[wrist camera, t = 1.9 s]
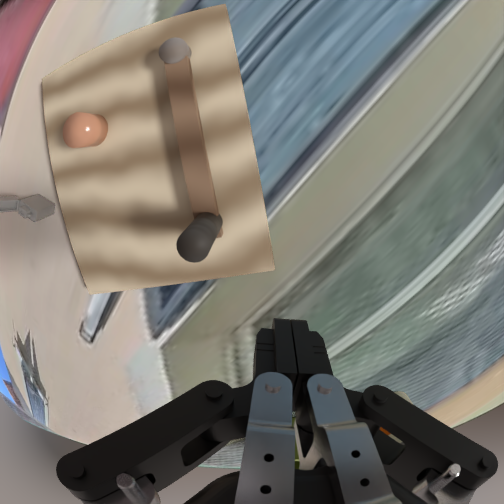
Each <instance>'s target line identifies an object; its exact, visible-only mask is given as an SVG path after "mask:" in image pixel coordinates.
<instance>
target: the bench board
mask: <svg viewBox="0 0 504 504" xmlns="http://www.w3.org/2000/svg"><path fill="white" fill-rule="evenodd" d="M170 38H181V39H183V40H184V41H185V42H186V43H187V45H188V46H189V47H190V49H191V52H192V54H191V58H190V63H191V69H192V74H193V80H194V86H195V91H196V97H197V103H198V108H199V113H200V119H201V124H202V130H203V135H204V140H205V145H206V150H207V156H208V161H209V166H210V171H211V176H212V181H213V186H214V191H215V195H216V200H217V205H218V210H219V214H220V215H221V217H222V220H223V224H222V229H223V235H222V237H221V238H216V239H215V241H214V243H213V245H212V248H211V250H210V252H209V254H208V255H207V257H206V258H205V259H204V260H202V261H200V262H196V263H192V262H188V261H186V260H184V259H183V258H182V257H181V256H180V255H179V253H178V251H177V247H176V243H177V239H178V237H179V236H180V235H181V233H182V232H183V231H184V230H185V229H186V228H187V227H188V226H189V225H190V224H191V222H192V221H193V220H194V216H193V212H192V208H191V203H190V199H189V194H188V189H187V185H186V180H185V175H184V171H183V166H182V161H181V156H180V151H179V146H178V141H177V135H176V130H175V125H174V119H173V114H172V108H171V102H170V96H169V90H168V84H167V78H166V71H165V65H164V61H163V60H161V58H160V57H159V48H160V46H161V45H162V44H163V43H164V42H165V41H166V40H168V39H170ZM42 90H43V105H44V117H45V126H46V134H47V141H48V148H49V154H50V160H51V165H52V171H53V176H54V180H55V185H56V190H57V194H58V198H59V202H60V206H61V210H62V214H63V218H64V221H65V225H66V228H67V232H68V235H69V238H70V241H71V244H72V248H73V251H74V254H75V257H76V260H77V262H78V265H79V268H80V271H81V273H82V276H83V279H84V281H85V284H86V287H87V289H88V292H89V294H99V293H108V292H116V291H125V290H133V289H141V288H149V287H157V286H165V285H172V284H180V283H188V282H195V281H202V280H210V279H217V278H224V277H231V276H238V275H245V274H252V273H259V272H265V271H272V270H275V266H274V259H273V252H272V246H271V240H270V234H269V228H268V222H267V216H266V210H265V204H264V198H263V193H262V187H261V181H260V175H259V170H258V164H257V159H256V153H255V147H254V142H253V137H252V131H251V126H250V120H249V115H248V110H247V105H246V99H245V94H244V89H243V84H242V79H241V74H240V69H239V64H238V59H237V54H236V49H235V44H234V39H233V35H232V30H231V25H230V20H229V16H228V11H227V8H226V4H222V5H217V6H212V7H208V8H204V9H199V10H195V11H192V12H188V13H184V14H181V15H177V16H174V17H171V18H167V19H164V20H161V21H158V22H155V23H152V24H150V25H147V26H144V27H141V28H139V29H136V30H134V31H131V32H129V33H126V34H124V35H122V36H119V37H117V38H115V39H112V40H110V41H108V42H106V43H104V44H102V45H100V46H98V47H96V48H94V49H92V50H90V51H88V52H86V53H84V54H82V55H80V56H78V57H77V58H75V59H73V60H71V61H69V62H68V63H66V64H64V65H63V66H61V67H59V68H58V69H56V70H54V71H53V72H51V73H50V74H48V75H47V76H45V77H44V78H42ZM76 112H83V113H91V114H99V115H102V116H103V117H104V118H105V119H106V121H107V123H108V133H107V136H106V138H105V140H104V141H103V142H102V143H101V144H100V145H98V146H95V147H82V148H71V147H69V146H67V145H66V143H65V142H64V139H63V127H64V124H65V122H66V120H67V119H68V117H69V116H70V115H72V114H73V113H76Z"/></svg>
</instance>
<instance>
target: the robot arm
mask: <svg viewBox="0 0 504 504" xmlns="http://www.w3.org/2000/svg"><path fill="white" fill-rule="evenodd" d="M292 411H294V412H295V413H296V419H295V422H294V427H292ZM380 427H382V428H383V429H385V430H386V431H388V432H389V433H391V434H392V435H393V436H395V437H396V438H398V439H399V440H401V441H402V442H403V443H404V444H405V445H402V444H400V443H398V442H397V441H395V440H394V439H392V438H391V437H390V436H388V435H387V434H385V433H384V432H382V431H381V430H380ZM245 437H246V439H245V445H244V451H243V457H242V463H241V469H240V471H237V472H233V473H230V474H227V475H224V476H222V477H220V478H217V479H216V480H215V481H213V482H211V483H210V484H208V485H207V486H206V487H205V488H204V489H202V490H201V491H199V492H198V493H197V494H196V495H194V496H193V497H192V498H190V499H189V500H188V501H186V502H185V503H184V504H469V502H470V500H471V498H472V496H473V494H474V492H475V490H476V489H477V488H478V487H479V486H481V485H482V484H483V483H485V482H486V481H487V480H488V479H489V478H491V477H492V476H493V475H494V474H495V473H496V471H497V468H498V461H497V458H496V456H495V455H494V454H493V453H492V452H491V451H489V450H487V449H486V448H484V447H482V446H481V445H479V444H477V443H475V442H474V441H472V440H470V439H468V438H467V437H465V436H463V435H462V434H460V433H458V432H456V431H455V430H453V429H452V428H450V427H448V426H447V425H445V424H443V423H442V422H440V421H439V420H437V419H435V418H434V417H432V416H430V415H429V414H427V413H426V412H424V411H422V410H421V409H419V408H418V407H416V406H415V405H413V404H411V403H410V402H408V401H407V400H405V399H404V398H402V397H400V396H399V395H397V394H396V393H394V392H393V391H391V390H390V389H388V388H386V387H384V386H379V385H374V386H370V387H368V388H366V390H365V391H364V393H362V392H357V391H352V390H348V389H346V388H344V387H343V385H342V383H341V382H340V380H338V379H337V378H336V377H334V376H333V372H332V369H331V365H330V361H329V358H328V354H327V350H326V348H325V343H324V340H323V338H322V337H321V336H320V335H319V333H318V332H316V331H309V328H308V324H307V321H306V320H293V319H291V320H290V319H278V318H274V319H273V324H272V329H266V328H261V330H260V331H259V332H258V334H257V336H256V345H255V353H254V363H253V381H252V382H251V383H249V384H248V385H246V386H243V387H239V388H231V387H230V386H229V385H228V384H226V383H224V382H221V381H217V380H210V381H205V382H202V383H201V384H199V385H197V386H196V387H194V388H192V389H191V390H189V391H187V392H186V393H184V394H182V395H181V396H179V397H177V398H176V399H174V400H172V401H170V402H169V403H167V404H165V405H164V406H162V407H160V408H158V409H156V410H155V411H153V412H151V413H149V414H148V415H146V416H144V417H142V418H140V419H138V420H136V421H135V422H133V423H131V424H129V425H127V426H125V427H123V428H121V429H119V430H117V431H115V432H113V433H111V434H109V435H107V436H105V437H103V438H101V439H99V440H97V441H95V442H93V443H91V444H89V445H86V446H84V447H82V448H80V449H78V450H76V451H73V452H71V453H69V454H67V455H65V456H63V457H62V458H61V459H60V460H59V462H58V464H57V468H56V471H57V476H58V478H59V480H60V482H61V483H62V484H63V485H64V486H65V487H66V488H67V489H69V490H70V492H71V493H72V494H73V495H74V496H75V497H76V498H78V499H79V500H80V501H81V502H82V503H84V504H160V503H161V501H160V497H159V495H158V493H157V492H159V491H161V490H162V489H164V488H166V487H167V486H169V485H170V484H172V483H173V482H175V481H176V480H178V479H179V478H181V477H182V476H184V475H185V474H187V473H188V472H190V471H191V470H193V469H194V468H196V467H197V466H198V465H200V464H201V463H203V462H204V461H205V460H207V459H208V458H209V457H211V456H212V455H213V454H215V453H216V452H217V451H219V450H220V449H221V448H223V447H224V446H225V445H226V444H228V443H229V441H230V440H234V439H239V438H245ZM295 438H296V443H297V449H298V455H299V460H300V467H299V469H295Z"/></svg>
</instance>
